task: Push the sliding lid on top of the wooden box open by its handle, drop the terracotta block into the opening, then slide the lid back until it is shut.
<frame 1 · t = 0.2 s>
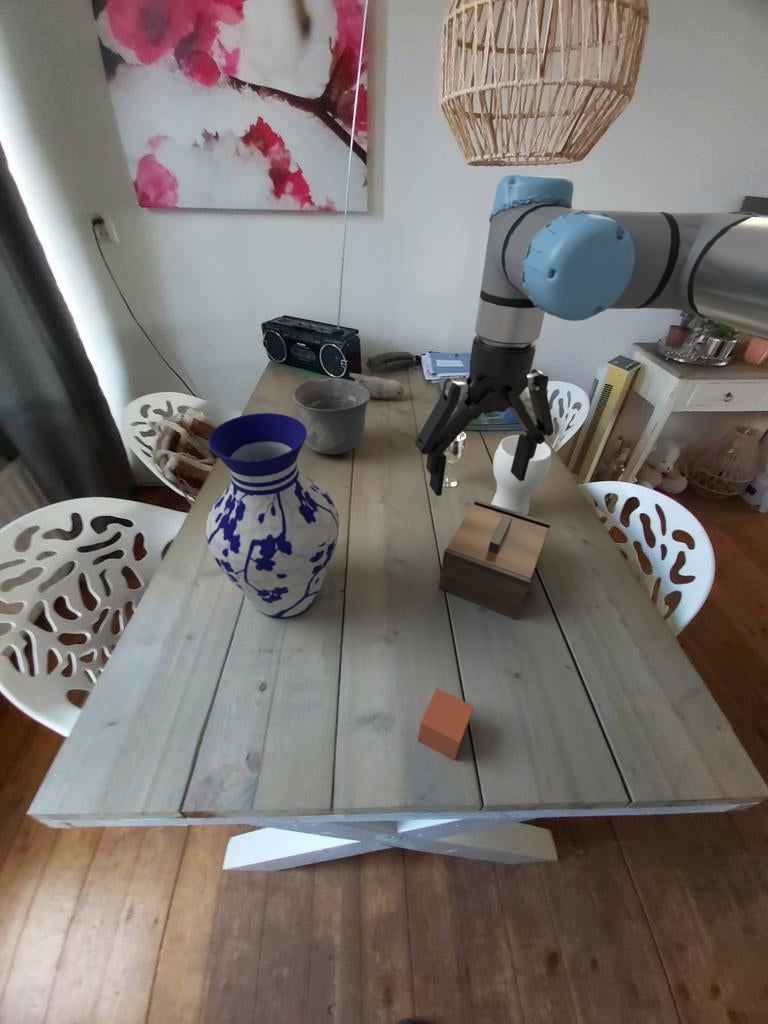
hand: (477, 483, 66), 20 cm above the table, tool pointing down, fingers open, 13 cm apart
cup: (509, 509, 93), on the table
box: (490, 573, 78), on the table
vase: (286, 593, 74), on the table
decorative bird: (376, 399, 133), on the table
wineglass: (448, 482, 100), on the table
bowl: (334, 449, 110), on the table
block: (443, 732, 57), on the table
sliding lid: (500, 535, 73), point 9 cm above the table, slide at 0.0 cm
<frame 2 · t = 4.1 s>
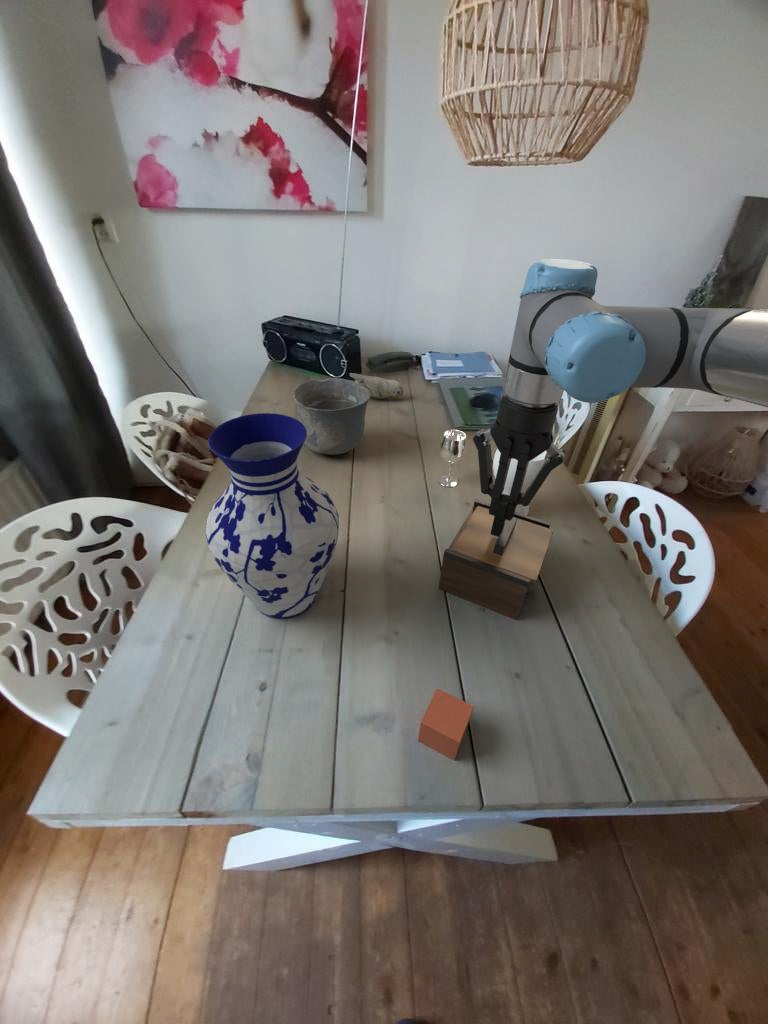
hand: (497, 530, 72), 10 cm above the table, tool pointing down, fingers closed
sliding lid: (505, 536, 72), point 9 cm above the table, slide at 0.8 cm, touching gripper
everything else where it was.
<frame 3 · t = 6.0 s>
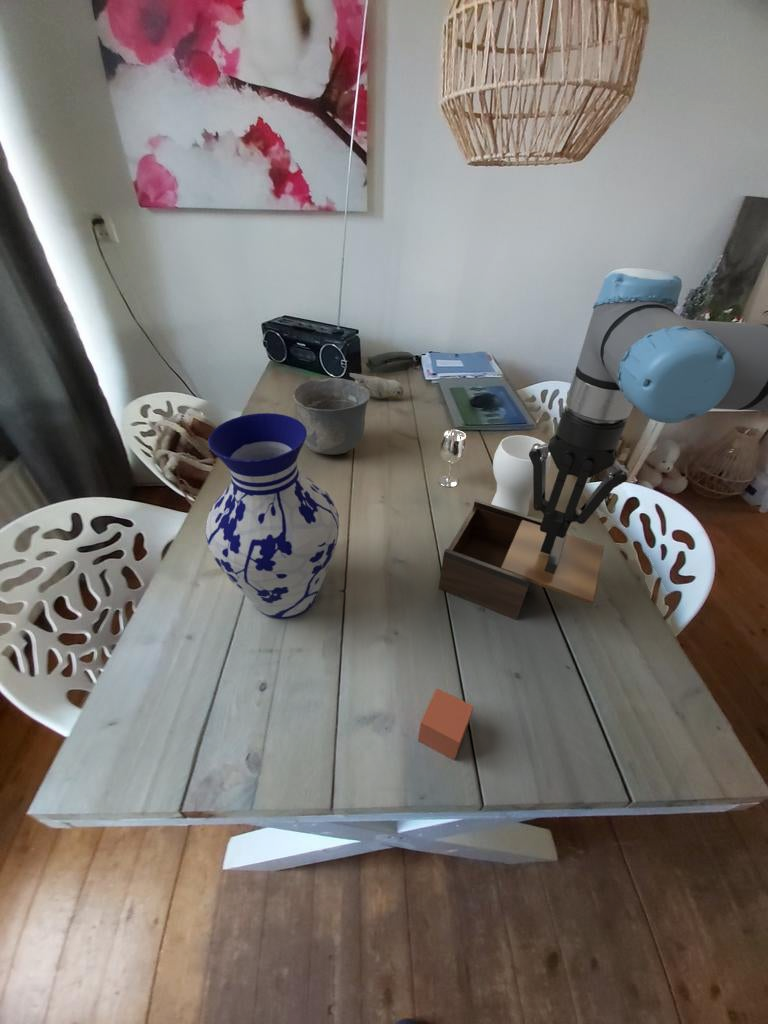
hand: (546, 547, 70), 10 cm above the table, tool pointing down, fingers closed
sliding lid: (555, 553, 69), point 9 cm above the table, slide at 8.9 cm, touching gripper
everything else where it was.
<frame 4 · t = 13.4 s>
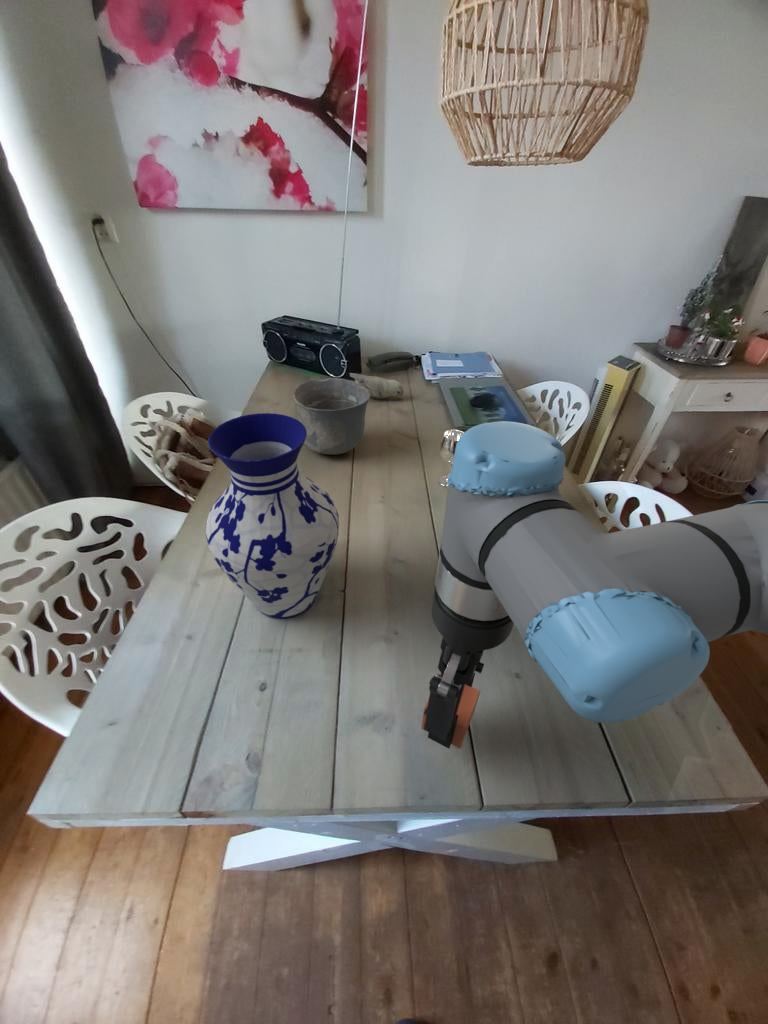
hand: (448, 719, 54), 4 cm above the table, tool pointing down, fingers closed on block, 5 cm apart
block: (447, 720, 54), point 4 cm above the table, touching gripper
sliding lid: (555, 553, 69), point 9 cm above the table, slide at 9.0 cm
everything else where it was.
when the fingers open (5 cm above the table, at t = 18.8 s): block drops 4 cm, resting on box.
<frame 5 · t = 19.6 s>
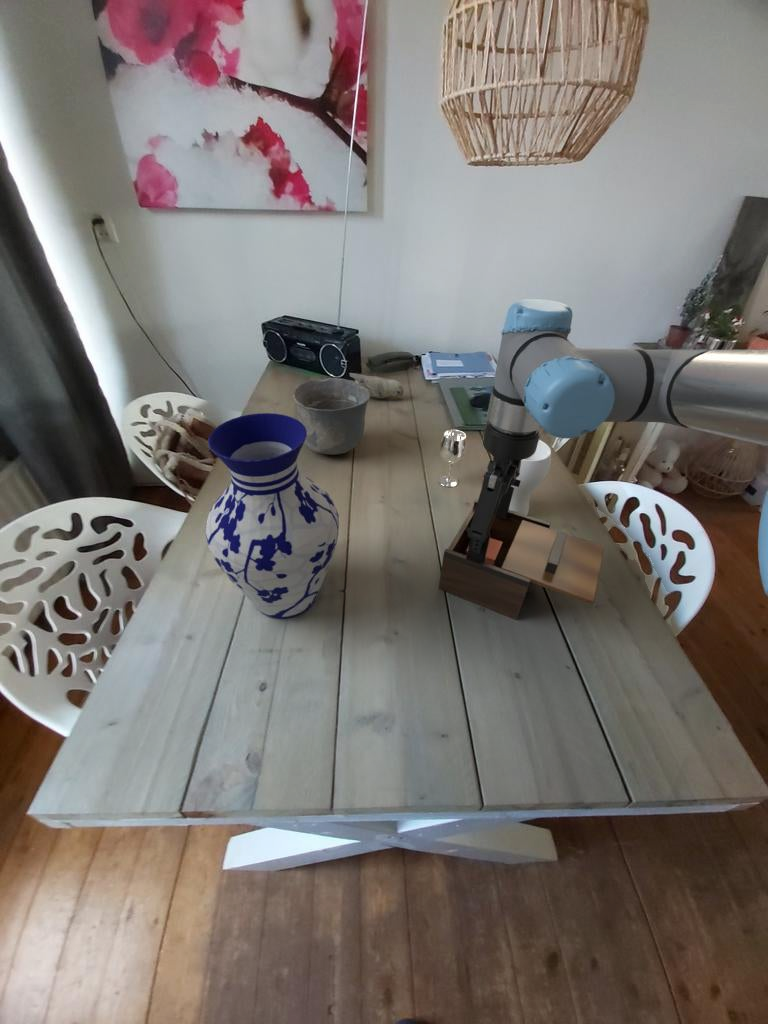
hand: (487, 537, 74), 8 cm above the table, tool pointing down, fingers open, 12 cm apart
block: (480, 566, 79), point 1 cm above the table, touching box
everything else where it was.
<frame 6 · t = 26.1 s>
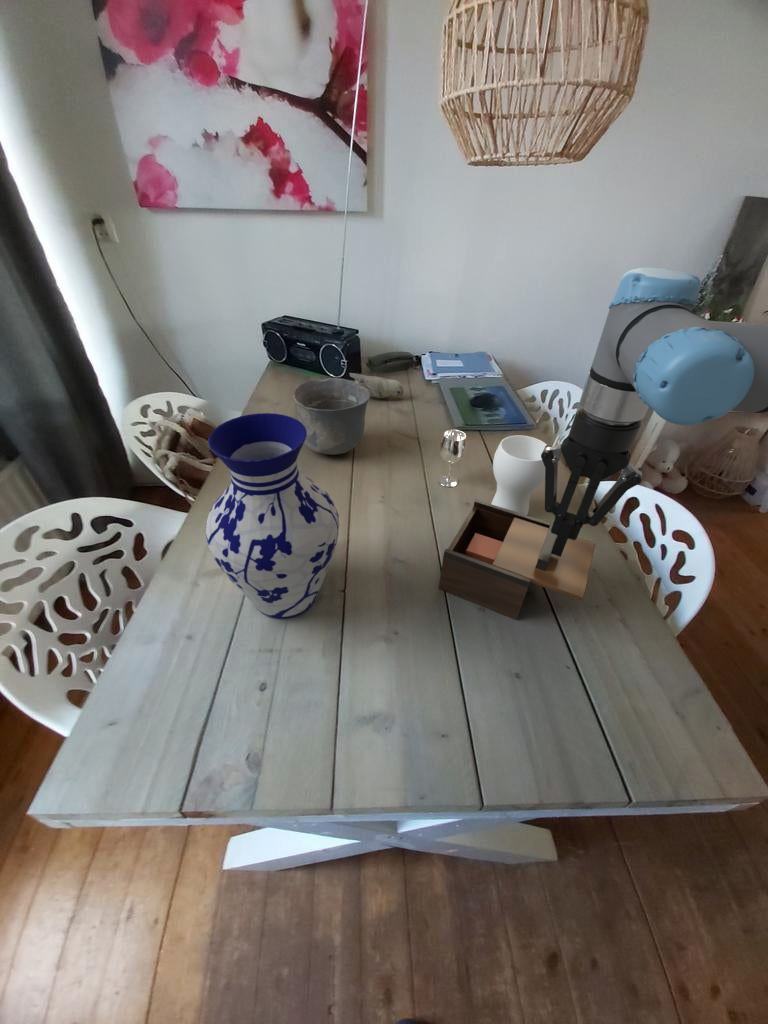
hand: (557, 549, 69), 10 cm above the table, tool pointing down, fingers closed
sliding lid: (546, 550, 70), point 9 cm above the table, slide at 7.6 cm, touching gripper
everything else where it was.
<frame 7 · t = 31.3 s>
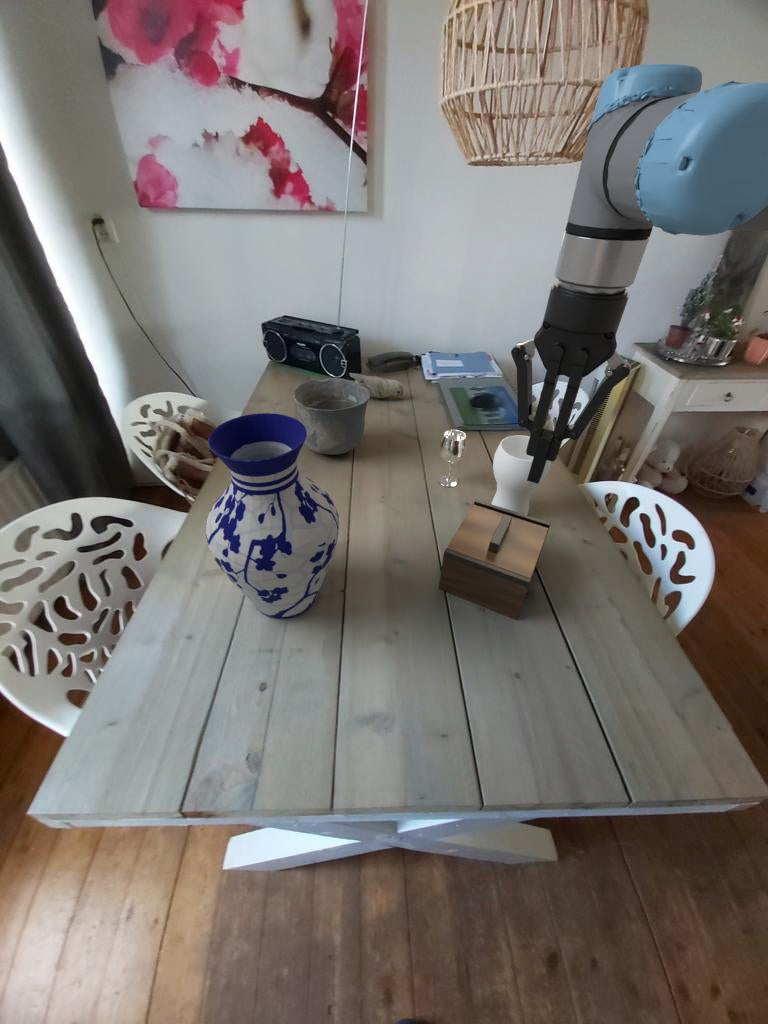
hand: (534, 477, 59), 24 cm above the table, tool pointing down, fingers closed
sliding lid: (500, 535, 73), point 9 cm above the table, slide at 0.0 cm
everything else where it was.
at the end: sliding lid pulled out 9.0 cm at the most during the clip, back to where it started at the end; block inside the target area on the box (2.0 cm from its centre), point 0.8 cm above the box's base; sliding lid slide at 0.0 cm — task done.
